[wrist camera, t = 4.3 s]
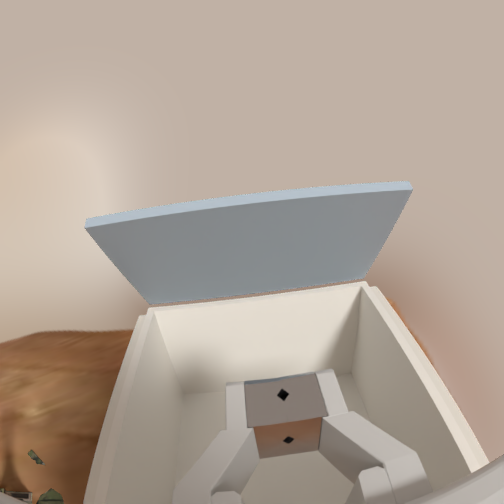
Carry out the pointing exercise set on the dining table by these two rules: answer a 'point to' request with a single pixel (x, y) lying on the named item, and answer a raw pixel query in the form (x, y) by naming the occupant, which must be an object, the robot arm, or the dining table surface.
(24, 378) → the dining table surface
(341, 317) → the carton
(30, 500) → the eiffel tower figurine
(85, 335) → the dining table surface
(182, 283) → the lid flap
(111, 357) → the dining table surface
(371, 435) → the robot arm
